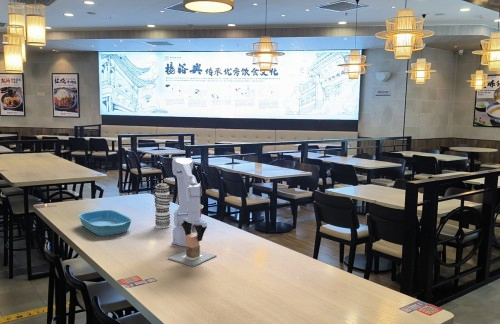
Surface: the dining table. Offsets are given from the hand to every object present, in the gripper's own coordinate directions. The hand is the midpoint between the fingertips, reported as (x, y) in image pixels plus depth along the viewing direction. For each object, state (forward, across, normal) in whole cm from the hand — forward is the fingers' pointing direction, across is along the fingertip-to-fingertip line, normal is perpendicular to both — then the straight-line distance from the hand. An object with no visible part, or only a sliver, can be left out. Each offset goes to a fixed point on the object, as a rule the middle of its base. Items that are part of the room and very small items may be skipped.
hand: (194, 239), depth 198 cm
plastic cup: (+9, +38, -37) cm, 54 cm away
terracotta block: (+3, 0, +1) cm, 3 cm away
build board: (+9, 0, +1) cm, 9 cm away
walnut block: (+8, 0, +1) cm, 8 cm away
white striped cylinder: (+9, +51, -24) cm, 57 cm away
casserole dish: (+9, +72, +1) cm, 72 cm away
